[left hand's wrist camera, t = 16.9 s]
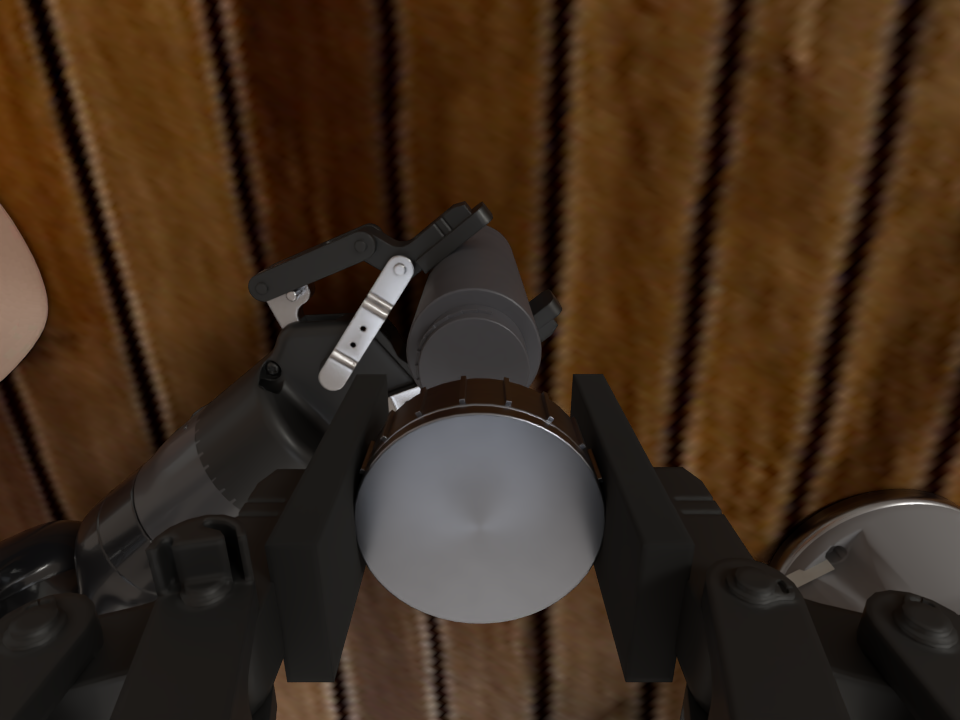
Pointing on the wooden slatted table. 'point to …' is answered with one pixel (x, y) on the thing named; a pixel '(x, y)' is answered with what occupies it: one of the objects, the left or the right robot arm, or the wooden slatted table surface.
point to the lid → (479, 502)
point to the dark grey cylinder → (474, 318)
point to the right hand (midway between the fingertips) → (520, 256)
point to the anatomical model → (18, 297)
